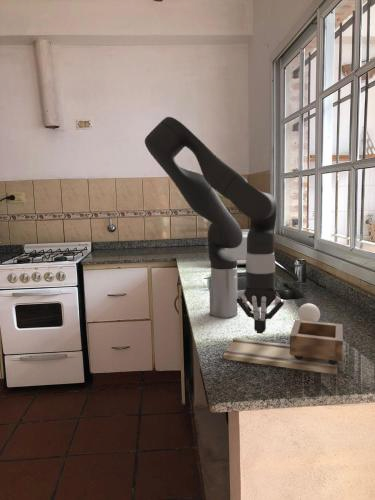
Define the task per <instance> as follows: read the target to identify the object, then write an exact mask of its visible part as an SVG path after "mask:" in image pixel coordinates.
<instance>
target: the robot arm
mask: <svg viewBox="0 0 375 500" xmlns="http://www.w3.org/2000/svg"><path fill="white" fill-rule="evenodd" d="M144 144H145V147H146V148H147V149H146V150H147V151H148V152H149V154H150V155H151V156H152V157H153V159H154V160H155V161H156V162H157V164H158V165H160V167H161V168H162V169H163V171H164V172H165V173H166V175H168V177H169V178H170V179H171V181H172V182H173V183H174V185H175V186H176V188H177V189H178V191H179V192H180V194H181V195H182V197H183V198H184V200H185V201H186V203H187V204H188V205H189V207H190V208H191V209H192V211H194V212H195V213H196V214H197V215H199V216H201V217H202V218H204V219H205V220H206V221H209V223H210V225H209V226H208V228H207V229H208V230H207V245H208V246H207V247H208V258H209V262H210V283H211V284H210V285H211V286H210V287H211V288H209V291H208V292H209V316H213V317H215V318H222V319H225V318H226V319H227V318H233V317H236V316H237V315H238V306H239V307H240V308H241V309H242V311H243V312H244V313H245V314H246V316H247V317H248V318H251V319H253V321H254V323H253V324H254V326H253V330H254V331H255V332H256V334H263V333H264V332H265V331H266V328H267V323H266V322H267V320H271V319H272V318H273V317H274V316H275V315H276V314H277V313H278V312H279V311H280V309H281V308H282V307H283V306H284V304H285V300H284V299H283V298H280V297H279V296H278V293H277V290H276V269H277V268H276V257H275V228H276V221H277V209H278V208H277V202H276V199H275V197H274V196H273V195H272V194H270V193H269V192H264V191H263V192H262V191H260V189H258V188H256V187H254V186H253V185H251V184H250V183H249V182H248V179H246V177H244V176H243V175H242V174H241V173H239V172H238V171H236V170H235V169H234V168H233V167H230V166H229V165H228V164H226V163H225V162H224V161H223V160H221V159H220V158H219V157H218V156H217V155H216V154H214V152H213V151H212V150H211V149H210V148H209V147H208V146H206V144H205V143H204V142H203V141H202V140H200V139H199V137H197V136H196V135H195V134H194V133H193V132H192V131H191V130H190V129H189V128H188V127H187V126H186V125H184V123H182V122H181V121H180V120H178V119H177V118H174V117H172V116H166V117H164V118H163V119H161V121H160V122H158V124H157V125H156V126H155V127H154V128H153V129H152V130H151V131H150V132H149V134H147V135H146V137H145V138H144ZM185 147H186V148H187V149H188V150H190V151H191V152H192V153H193V155H194V156H195V158H196V160H197V162H198V165H199V167H200V171H201V173H198V172H196V171H192V170H188V169H185V168H184V167H181V166H179V164H177V162H176V160H175V158H176V156H177V155H178V154H179V153H180V152H181V151H182V150H183V149H184V148H185ZM217 193H218V194H220V195H221V196H223V197H224V198H225V199H227V200H229V201H230V202H231V203H232V204H233V205H234V206H235V207H236V208H237V209H238V210H239V211H240V212H241V213H242V214H244V215H245V216H246V217H247V218H249V219H250V221H249V222H250V224H249V229H250V230H249V232H248V235H247V257H246V264H245V290H244V291H243V294H241V295H240V296H238V264H237V260H236V258H234V257H232V256H231V255H229V254H228V253H227V252H226V250H225V248H236V247H238V246H239V245H240V244H241V242H242V238H243V235H242V230H241V229H242V228H241V225H240V224H239V223H238V221H237V220H236V219H235V218H234V216H232V214H231V213H230V211H229V210H228V208H227V207H226V206H225V205H224V202H222V200H221V198H220V197H219V195H218V194H217ZM247 301H248V302H249V303H248V302H247ZM272 303H274V306H273V308H272V309H271V310H269V312H268V307H270V305H271V304H272ZM249 304H250V305H251V306H252V308H251V307H250V306H249Z"/></svg>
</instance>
